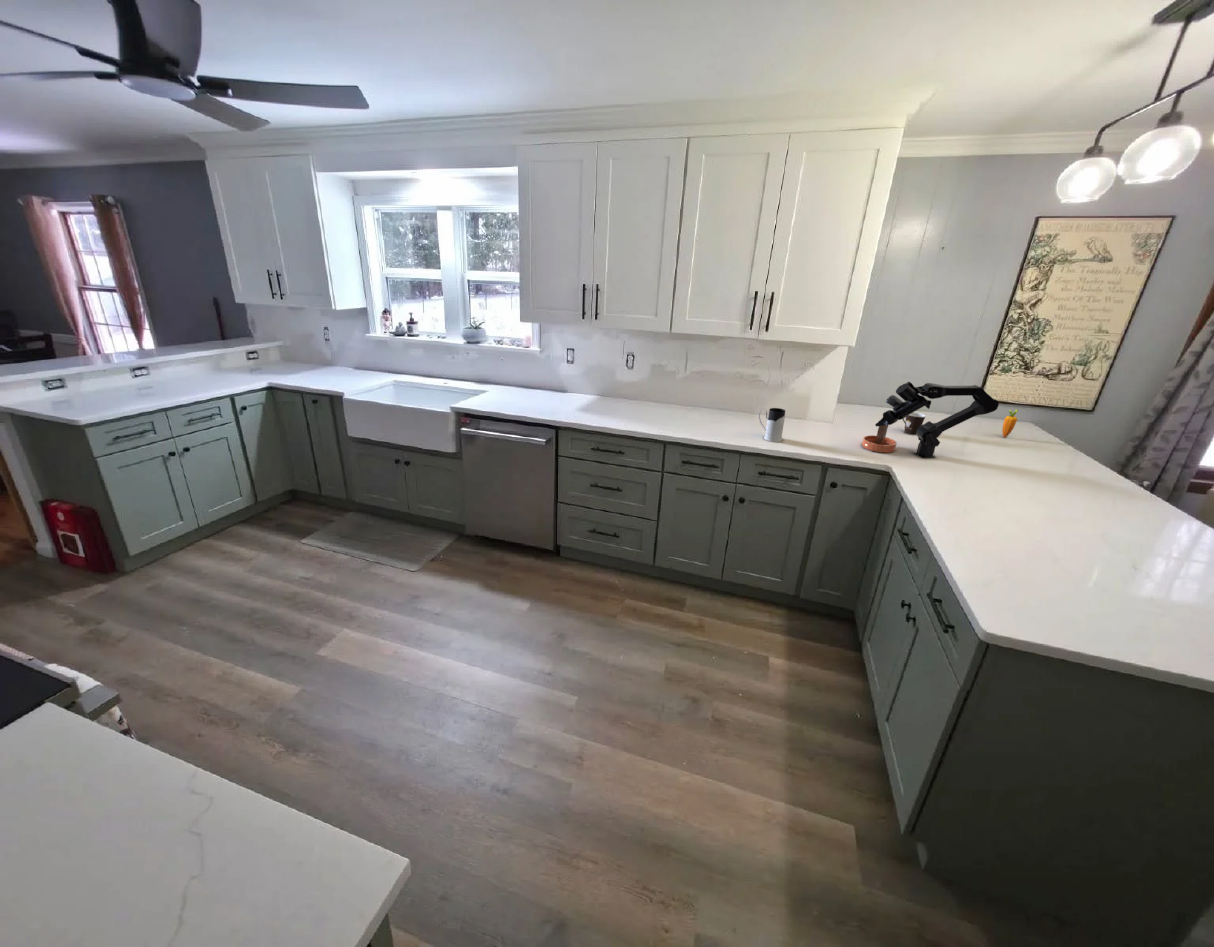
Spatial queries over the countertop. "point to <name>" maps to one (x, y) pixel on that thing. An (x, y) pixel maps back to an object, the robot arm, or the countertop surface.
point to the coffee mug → (913, 423)
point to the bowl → (887, 447)
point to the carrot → (1009, 423)
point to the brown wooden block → (881, 434)
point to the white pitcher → (774, 424)
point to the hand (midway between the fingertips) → (879, 423)
